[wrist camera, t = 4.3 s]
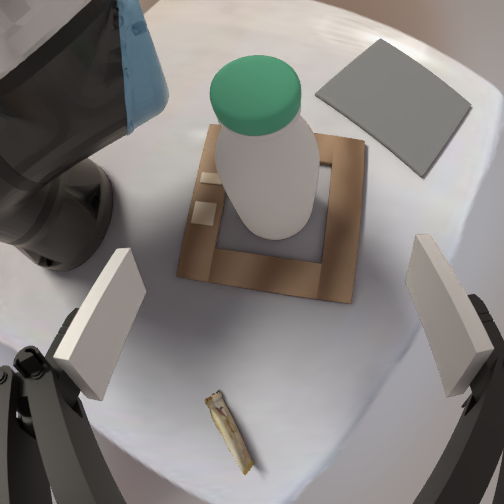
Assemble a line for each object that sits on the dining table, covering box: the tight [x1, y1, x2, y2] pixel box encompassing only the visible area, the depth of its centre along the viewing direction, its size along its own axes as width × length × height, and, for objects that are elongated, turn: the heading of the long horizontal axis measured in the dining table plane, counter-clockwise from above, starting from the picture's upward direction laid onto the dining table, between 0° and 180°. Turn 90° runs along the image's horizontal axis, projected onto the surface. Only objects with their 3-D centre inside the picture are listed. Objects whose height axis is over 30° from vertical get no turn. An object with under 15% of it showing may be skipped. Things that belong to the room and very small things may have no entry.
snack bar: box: [205, 390, 254, 475], centre depth 29 cm, size 10×2×3 cm, turn 23°
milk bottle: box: [210, 55, 320, 240], centre depth 24 cm, size 8×8×20 cm
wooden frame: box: [176, 124, 365, 304], centre depth 33 cm, size 18×18×1 cm
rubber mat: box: [315, 38, 471, 177], centre depth 34 cm, size 16×16×1 cm
